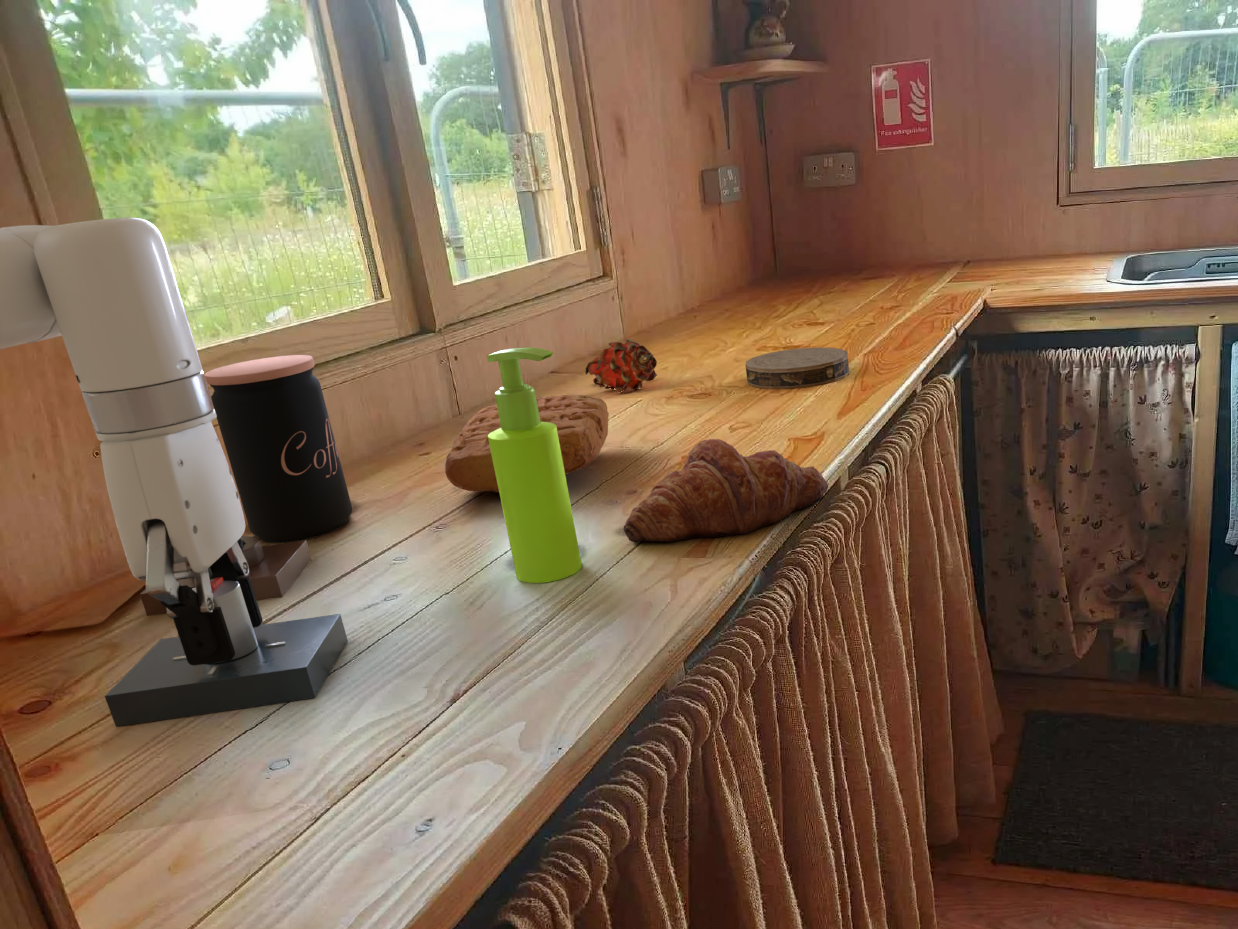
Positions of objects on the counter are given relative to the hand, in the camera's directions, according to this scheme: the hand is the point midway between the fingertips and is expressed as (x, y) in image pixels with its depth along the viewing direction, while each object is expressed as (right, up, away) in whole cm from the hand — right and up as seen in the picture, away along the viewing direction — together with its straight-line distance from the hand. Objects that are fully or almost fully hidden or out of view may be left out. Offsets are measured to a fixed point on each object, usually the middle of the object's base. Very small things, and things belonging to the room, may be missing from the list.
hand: (227, 641), depth 82 cm
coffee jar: (-10, +10, +38) cm, 41 cm away
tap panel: (0, -3, +1) cm, 3 cm away
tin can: (+45, +36, +87) cm, 104 cm away
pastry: (+37, +10, +26) cm, 46 cm away
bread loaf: (+13, +17, +48) cm, 53 cm away
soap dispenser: (+21, +5, +17) cm, 28 cm away
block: (-10, +4, +22) cm, 25 cm away
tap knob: (0, -1, 0) cm, 1 cm away
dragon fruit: (+17, +35, +92) cm, 99 cm away
